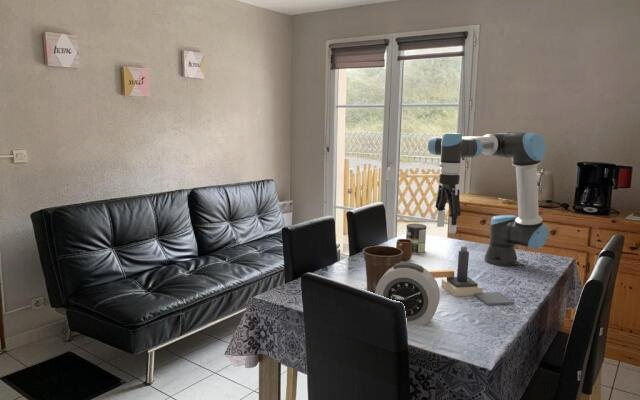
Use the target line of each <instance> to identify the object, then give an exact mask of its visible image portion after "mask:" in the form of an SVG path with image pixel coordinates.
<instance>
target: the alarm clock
mask: <svg viewBox="0 0 640 400" xmlns="http://www.w3.org/2000/svg"><path fill="white" fill-rule="evenodd" d="M428 271H429V270H427V269H426V268H424V266H423V265H420V264H417V263H414V262H408V261H403V262H400V263H397V264H395V265H394V267H392V268H390V269H389V270H388V271H387V272H386V273H385V274H384V275H383V277H382V278H381V279H380V280H379V282H378V284H377V286H376V290H375V292H374V295H375V294H378V295H381V296H384V297H386V298H389V299H392V300H396V301H400V302H402V303H403V304H404V306H405V311H406V318H407V323H406V324H409V325H410V324H411V325H415V326H416V325H417V326H421V325H422V326H423V327H424V326H426V325H427V324H428V323H429V322H430V321H431V320H432V319H433V318H434V316H435V315H436V312H437V309H438V307H439V304H440V299H441V294H440V293H441V292H440V286H439V284H438V282H437V280H436V278H434V277H433V276H432V274H431V273H429V272H428Z"/></svg>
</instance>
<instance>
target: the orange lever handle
mask: <svg viewBox="0 0 640 400" xmlns="http://www.w3.org/2000/svg"><path fill="white" fill-rule="evenodd" d="M427 271H428V272H429V273H431V274H432V276H433V277H434V278H435V279H438V278H440V279H445V278H447V277H455V270H453V269H438V270H435V269H434V270H427Z"/></svg>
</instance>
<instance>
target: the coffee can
mask: <svg viewBox="0 0 640 400" xmlns="http://www.w3.org/2000/svg"><path fill="white" fill-rule="evenodd" d="M405 234H406V236H405V239H408V240H411V241H412V252H411V255H422V254H425V253H426V240H427V239H426V238H427V225H425V224H423V223H407V224H406V233H405Z"/></svg>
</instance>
